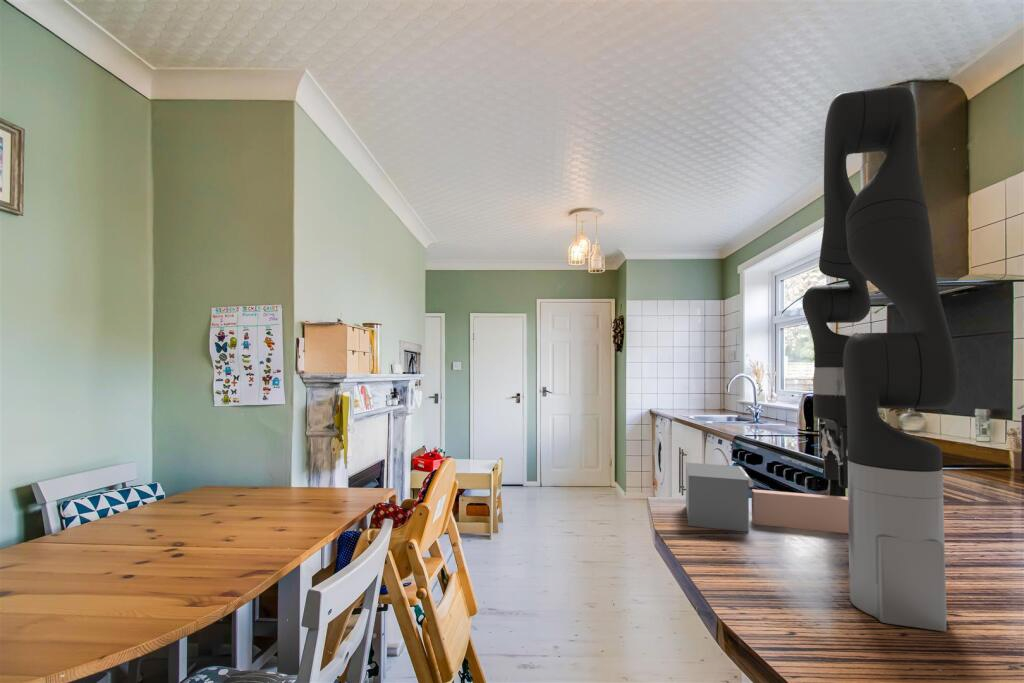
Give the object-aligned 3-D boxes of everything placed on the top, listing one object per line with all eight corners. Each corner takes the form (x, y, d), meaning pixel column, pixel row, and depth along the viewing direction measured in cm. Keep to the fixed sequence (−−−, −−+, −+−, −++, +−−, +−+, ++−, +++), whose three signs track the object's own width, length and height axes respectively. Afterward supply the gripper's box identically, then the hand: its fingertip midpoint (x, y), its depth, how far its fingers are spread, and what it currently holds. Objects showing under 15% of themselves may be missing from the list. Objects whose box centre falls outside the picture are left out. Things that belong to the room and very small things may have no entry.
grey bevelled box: (754, 532, 89) (754, 480, 89) (688, 525, 92) (688, 475, 92) (743, 511, 102) (742, 466, 103) (685, 506, 105) (685, 462, 106)
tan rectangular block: (853, 534, 89) (852, 500, 90) (753, 524, 94) (753, 492, 94) (848, 530, 92) (848, 497, 92) (751, 521, 96) (751, 489, 97)
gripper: (876, 394, 85) (878, 493, 83) (847, 393, 98) (849, 478, 97) (825, 392, 87) (827, 489, 86) (803, 391, 100) (804, 475, 99)
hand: (838, 483), depth 91 cm, fingers open, 8 cm apart
